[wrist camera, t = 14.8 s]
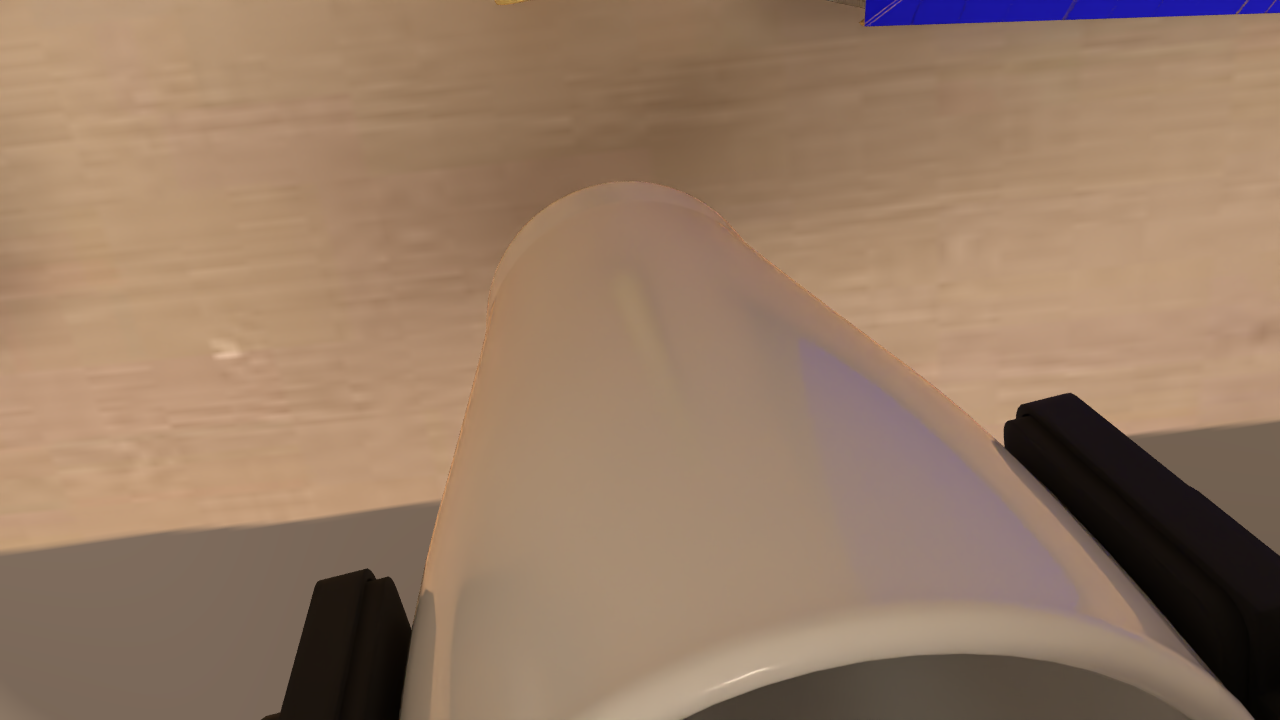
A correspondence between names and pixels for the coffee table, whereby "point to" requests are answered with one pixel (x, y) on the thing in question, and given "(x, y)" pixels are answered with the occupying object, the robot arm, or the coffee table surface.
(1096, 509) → the robot arm
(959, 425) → the drinking glass
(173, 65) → the coffee table surface
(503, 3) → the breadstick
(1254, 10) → the house
